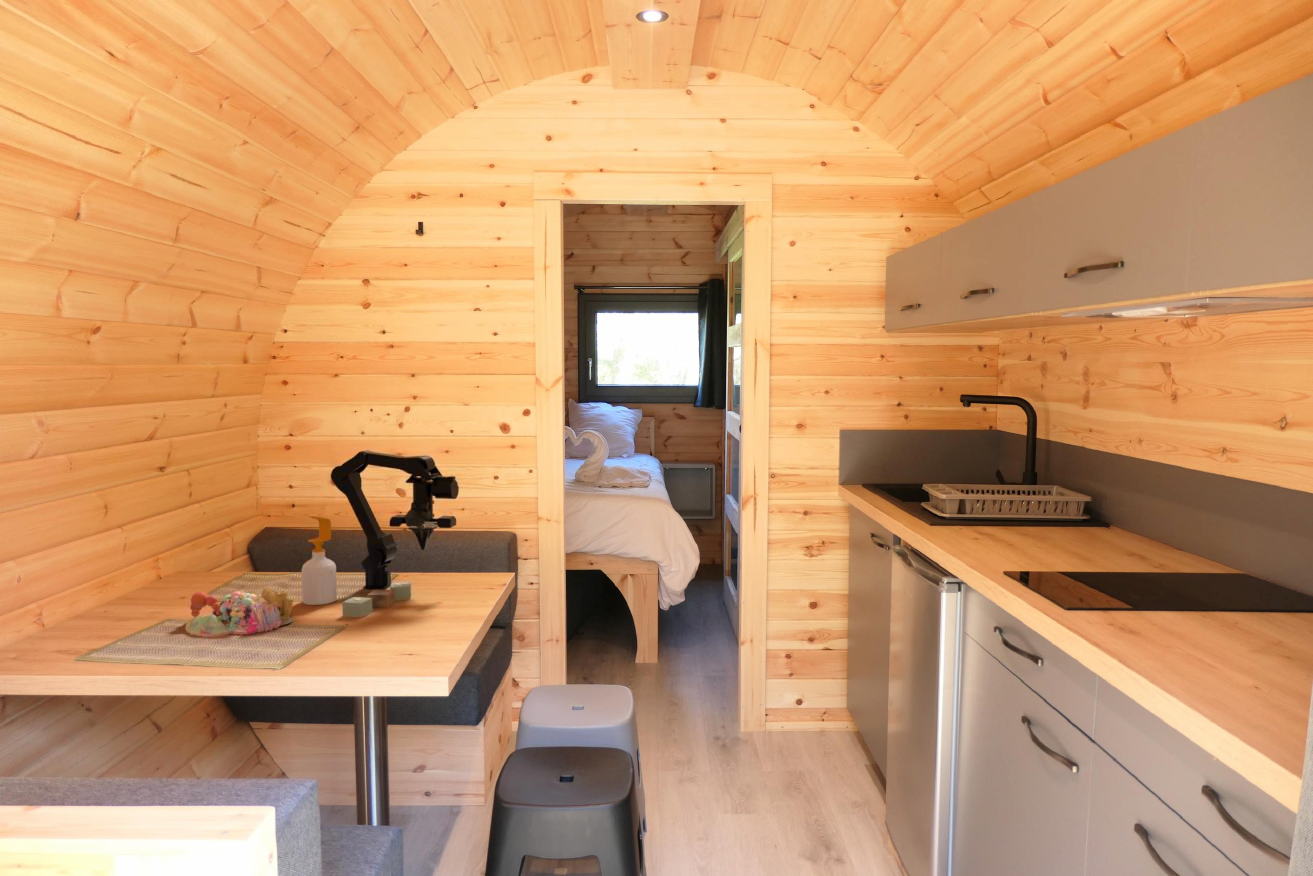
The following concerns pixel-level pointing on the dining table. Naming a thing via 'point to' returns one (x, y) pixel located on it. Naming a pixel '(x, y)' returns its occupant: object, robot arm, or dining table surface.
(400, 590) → the dotted block two
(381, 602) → the walnut block
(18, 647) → the dining table surface
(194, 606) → the colorful coral reef ornament
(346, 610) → the grey-green block
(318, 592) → the soap bottle
